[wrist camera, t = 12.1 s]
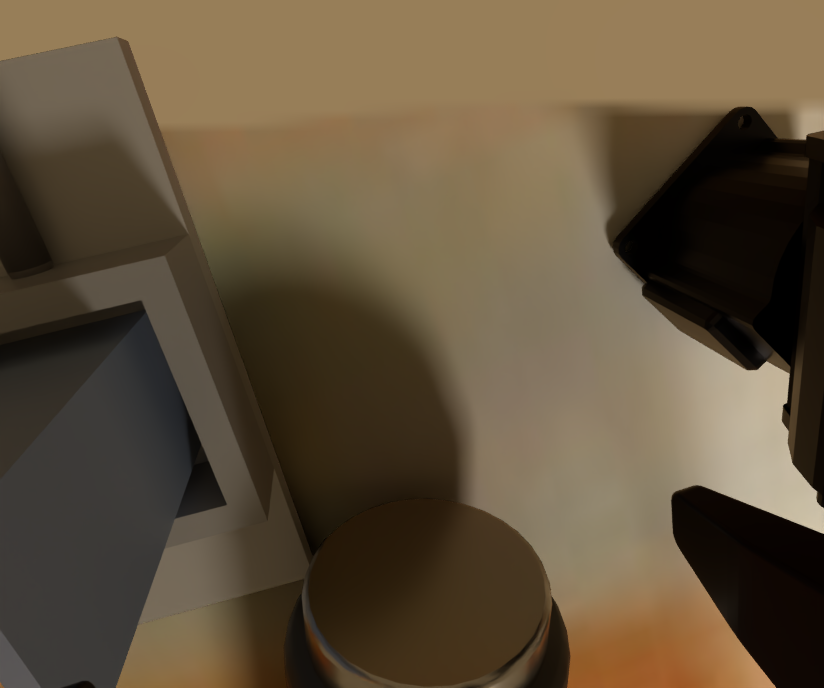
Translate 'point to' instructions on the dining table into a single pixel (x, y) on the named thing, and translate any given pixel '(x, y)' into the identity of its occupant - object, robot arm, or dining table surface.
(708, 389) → the dining table surface
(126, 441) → the orange-capped square pillar
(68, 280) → the end holder
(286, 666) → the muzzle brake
